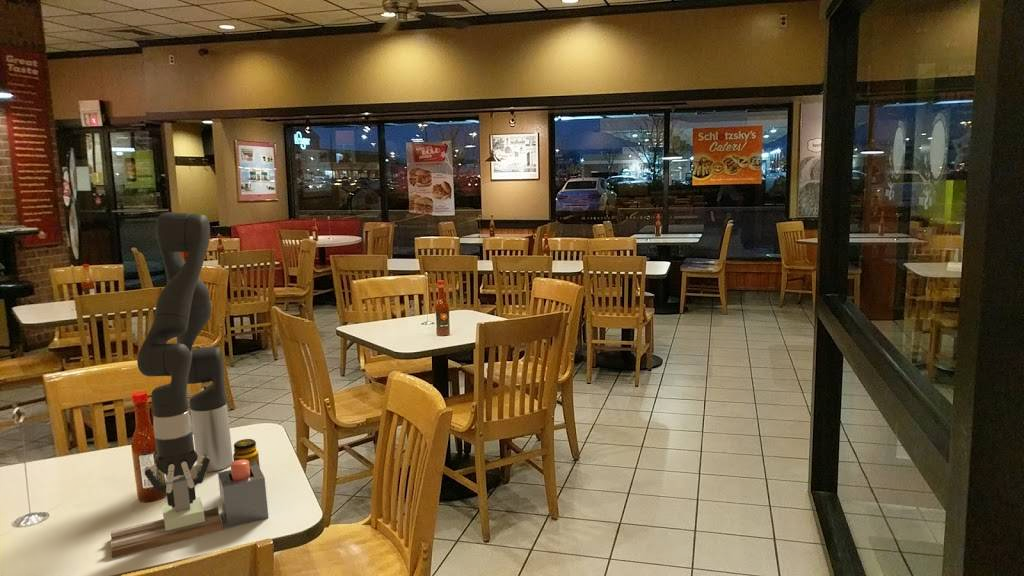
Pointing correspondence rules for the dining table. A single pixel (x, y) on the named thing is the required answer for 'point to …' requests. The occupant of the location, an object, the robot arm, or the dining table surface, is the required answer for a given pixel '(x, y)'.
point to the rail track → (161, 533)
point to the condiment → (246, 451)
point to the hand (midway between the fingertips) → (182, 503)
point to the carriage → (182, 507)
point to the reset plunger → (240, 470)
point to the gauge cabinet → (243, 497)
